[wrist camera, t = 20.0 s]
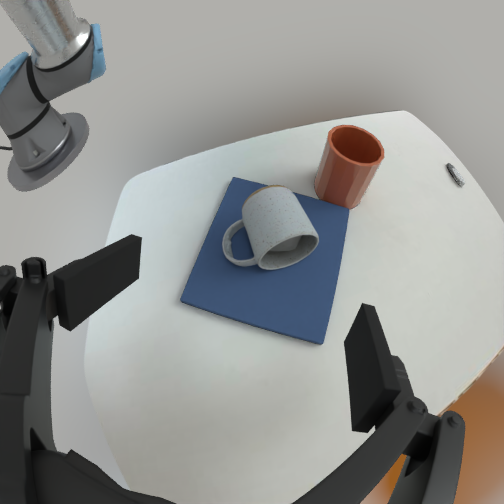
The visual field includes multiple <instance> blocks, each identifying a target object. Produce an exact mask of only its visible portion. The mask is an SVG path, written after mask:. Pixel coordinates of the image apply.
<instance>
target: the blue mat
mask: <svg viewBox="0 0 504 504" xmlns="http://www.w3.org/2000/svg"><path fill="white" fill-rule="evenodd" d="M266 186H268V185H264V184H260V183H256V182H252V181H248V180H244V179H240V178H235V177H233V179H232V181H231V183H230V185H229V187H228V189H227V192H226V194H225V196H224V198H223V200H222V203H221V205H220V207H219V209H218V211H217V214H216V216H215V218H214V220H213V223H212V225H211V227H210V230H209V232H208V234H207V236H206V239H205V241H204V243H203V246H202V248H201V250H200V253H199V255H198V257H197V260H196V262H195V265H194V267H193V269H192V272H191V274H190V277H189V279H188V282H187V284H186V286H185V289H184V291H183V294H182V296H181V299H180V301H181V302H183V303H185V304H188V305H191V306H194V307H197V308H200V309H203V310H206V311H209V312H212V313H215V314H218V315H221V316H224V317H227V318H230V319H233V320H236V321H239V322H243V323H246V324H249V325H252V326H256V327H259V328H262V329H266V330H269V331H272V332H276V333H279V334H283V335H286V336H290V337H294V338H297V339H301V340H305V341H309V342H312V343H316V344H320V345H321V344H323V342H324V338H325V334H326V330H327V326H328V322H329V317H330V313H331V308H332V304H333V299H334V295H335V290H336V285H337V280H338V275H339V270H340V264H341V259H342V253H343V247H344V241H345V235H346V229H347V222H348V216H349V209H348V208H345V207H342V206H338V205H335V204H332V203H329V202H325V201H322V200H318V199H315V198H312V197H308V196H305V195H301V194H297V193H294V192H292V193H293V194H294V195H295V196H296V198H297V199H298V201H299V203H300V205H301V206H302V208H303V210H304V212H305V213H306V215H307V217H308V218H309V220H310V222H311V224H312V226H313V227H314V229H315V231H316V232H317V234H318V236H319V242H318V245H317V247H316V248H315V249H314V251H312V252H311V253H310V255H308V256H307V257H305V258H304V259H302V260H300V261H299V262H297V263H294V264H293V265H290V266H287V267H284V268H279V269H275V270H266V269H262V268H260V267H259V266H258V264H256V265H252V266H238V265H235V264H234V263H232V262H230V261H229V260H228V259H227V258H226V256H225V254H224V252H223V247H222V242H223V237H224V234H225V232H226V231H227V229H228V228H229V227H230V226H231V225H232V224H234V223H235V222H237V221H239V220H241V219H242V206H243V204H244V202H245V200H246V199H247V198H248V197H249V196H250V195H251V194H252V193H254V192H255V191H257V190H258V189H261V188H263V187H266ZM231 243H232V244H231V250H232V254H233V258H234V259H236V260H248V259H252V258H253V257H254V253H253V250H252V247H251V243H250V240H249V237H248V234H247V231H246V229H245V226H244V227H242V228H241V229H239V230H238V231H237V232H236V233H235V234H234V235H233V236H232V238H231Z"/></svg>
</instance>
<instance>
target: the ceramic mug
mask: <svg viewBox="0 0 504 504" xmlns="http://www.w3.org/2000/svg"><path fill="white" fill-rule="evenodd" d="M244 226H245V229H246V231H247V234H248V237H249V240H250V243H251V247H252V250H253V253H254V257H253V258H252V259H248V260H236V259H234V258H233V254H232V250H231V244H232V243H231V238H232V236H233V235H234V234H235V233H236V232H237V231H238V230H239V229H241V228H242V227H244ZM318 242H319V236H318V234H317V232H316V231H315V229H314V227H313V226H312V224H311V222H310V220H309V218H308V217H307V215H306V213H305V212H304V210H303V208H302V206H301V205H300V203H299V201H298V199H297V198H296V196H295V195H294V194H293V193H292V192H291V191H290V190H289V189H288V188H287V187H284V186H280V185H271V186H266V187H263V188H261V189H258V190H257V191H255V192H254V193H252V194H251V195H250V196H249V197H248V198H247V199H246V200H245V202H244V204H243V206H242V219H241V220H239V221H237V222H235V223H234V224H232V225H231V226H230V227H229V228H228V229H227V231H226V232H225V234H224V237H223V242H222V247H223V252H224V254H225V256H226V258H227V259H228V260H229V261H230V262H232V263H234V264H235V265H238V266H252V265H256V264H258V266H259V267H260V268H262V269H266V270H275V269H279V268H284V267H287V266H290V265H293V264H294V263H297V262H299V261H300V260H302V259H304V258H305V257H307V256H308V255H310V253H311V252H312V251H314V249H315V248H316V247H317V245H318Z"/></svg>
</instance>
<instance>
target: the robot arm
mask: <svg viewBox="0 0 504 504" xmlns="http://www.w3.org/2000/svg"><path fill="white" fill-rule="evenodd" d="M0 4H1V6H2V7H3V9H4V10H5V11H6V13H7V14H8V16H9V17H10V18H11V20H12V21H13V22H14V24H15V25H16V27H17V28H18V29H19V31H20V32H21V34H22V35H23V36H24V38H25V39H26V40H27V41H28V43H29V44H30V45H31V47H32V48H33V50H32V53H31V56H28V53H27V52H22V53H21V54H19V55H18V56H16V57H15V58H14V59H12V60H11V61H10V62H9V63H7V64H6V65H5V66H4V67H3V68H2V69H1V70H0V126H1V127H2V129H3V131H4V132H5V134H6V135H7V137H8V138H9V140H10V142H11V146H12V147H2V146H1V147H0V149H4V150H13V154H14V157H15V161H16V163H17V165H18V166H19V168H20V169H21V170H22V171H32V170H35V169H37V168H39V167H41V166H43V165H44V164H46V163H47V162H49V161H50V160H51V159H52V158H53V157H55V156H56V155H57V154H58V153H59V152H60V150H61V149H62V148H63V147H64V146H65V144H66V143H67V141H68V139H69V137H70V134H71V126H70V124H69V122H68V121H67V120H66V119H65V118H64V117H63V116H62V115H61V114H59V113H58V112H57V111H56V110H55V109H54V108H53V107H51V105H50V103H49V101H50V100H52V99H54V98H56V97H58V96H60V95H62V94H64V93H66V92H69V91H71V90H73V89H75V88H77V87H79V86H82V85H84V84H86V83H90V82H91V81H92V80H94V79H96V78H98V77H100V76H102V75H103V74H104V72H105V70H106V65H105V59H104V54H103V47H102V39H101V34H100V33H101V32H100V25H99V24H91V25H89V23H88V22H87V21H86V20H85V19H83V18H78V17H76V16H75V13H74V11H73V8H72V6H71V4H70V1H69V0H0ZM141 242H142V237H139V236H135V235H132V234H131V235H129V236H127V237H125V238H123V239H121V240H119V241H117V242H115V243H113V244H111V245H109V246H107V247H105V248H103V249H101V250H99V251H97V252H95V253H93V254H91V255H89V256H87V257H85V258H83V259H79V260H75V261H73V262H71V263H69V264H68V265H65V266H63V267H62V268H60V269H57V270H56V271H54V272H52V273H50V274H48V275H47V271H46V261H45V260H44V259H42V258H39V257H31V258H28V259H25V260H24V261H23V262H22V263H21V265H22V273H23V278H20V277H17V276H16V269H15V268H14V267H13V266H7V265H5V266H1V267H0V305H1V309H0V504H176V503H173V502H171V501H168V500H166V499H163V498H160V497H155V496H151V495H146V494H142V493H138V492H134V491H129V490H126V489H124V488H122V487H121V486H120V485H118V484H117V483H116V482H115V481H114V480H113V479H111V478H110V477H109V476H108V475H107V474H106V473H105V472H103V471H102V470H101V469H100V468H99V467H98V466H97V465H95V464H94V463H92V462H90V461H88V460H87V459H86V458H84V457H82V456H81V455H79V454H78V453H76V452H75V451H73V450H72V449H71V450H70V451H69V452H68V454H65V453H61V452H58V451H57V450H56V447H55V444H54V440H53V433H52V418H51V357H52V342H53V330H54V321H53V318H54V317H56V316H57V315H58V318H59V324H60V326H62V327H64V328H65V329H67V330H69V331H72V330H73V329H74V328H75V327H77V326H78V325H79V324H80V323H82V322H83V321H84V320H85V319H87V318H88V317H89V316H90V315H92V314H93V313H94V312H95V311H97V310H98V309H99V308H101V307H102V306H103V305H104V304H106V303H107V302H108V301H110V300H111V299H112V298H113V297H115V296H116V295H117V294H119V293H120V292H121V291H123V290H124V289H125V288H127V287H128V286H129V285H131V284H132V283H133V282H135V281H136V280H137V279H139V268H140V254H141ZM344 347H345V355H346V364H347V374H348V384H349V395H350V408H351V423H352V431H356V432H364V433H368V432H369V431H370V430H371V429H372V427H373V426H374V425H375V430H376V431H375V432H374V433H373V434H372V435H371V436H370V437H369V438H368V439H367V440H366V441H365V442H364V443H363V444H362V445H361V446H360V447H359V448H358V449H357V450H356V451H355V452H354V453H353V454H352V455H351V456H350V457H349V458H348V459H346V460H345V461H344V462H343V463H342V464H341V465H340V466H339V467H338V468H336V469H335V470H334V471H333V472H332V473H331V474H330V475H328V476H327V477H326V478H325V479H324V480H322V481H321V482H320V483H319V484H317V485H316V486H315V487H314V488H312V489H311V490H310V491H308V492H307V493H306V494H304V495H303V496H302V497H300V498H299V499H298V500H296V501H295V502H293V503H292V504H360V503H361V501H362V500H363V499H364V498H365V497H366V496H367V495H368V494H369V493H370V492H371V491H372V490H373V488H374V487H375V486H376V485H377V484H378V483H379V482H380V480H381V479H382V478H383V477H384V476H385V474H386V473H387V472H388V471H389V469H390V468H391V467H392V466H393V464H394V463H395V462H396V460H397V459H398V458H399V456H400V455H401V454H404V455H407V457H406V460H405V462H404V465H403V468H402V470H401V473H400V476H399V478H398V481H397V483H396V486H395V488H394V490H393V493H392V495H391V497H390V500H389V502H388V504H453V503H454V499H455V495H456V489H457V485H458V479H459V474H460V468H461V462H462V454H463V446H464V435H465V422H464V420H463V418H462V417H461V416H460V415H459V414H458V413H456V412H454V411H446V412H445V413H444V414H443V415H442V416H441V417H438V416H435V415H432V414H430V413H428V409H427V406H426V405H425V403H424V402H423V401H422V400H420V399H419V398H417V397H414V393H413V390H412V387H411V384H410V381H409V379H408V375H407V373H406V369H405V366H404V364H403V362H402V361H401V360H400V358H399V357H398V356H393V355H391V353H390V350H389V347H388V344H387V341H386V338H385V335H384V332H383V329H382V326H381V323H380V321H379V318H378V315H377V312H376V310H375V307H374V306H371V305H368V304H364V303H362V305H361V307H360V309H359V311H358V314H357V316H356V318H355V320H354V322H353V324H352V327H351V329H350V331H349V333H348V335H347V337H346V339H345V341H344Z"/></svg>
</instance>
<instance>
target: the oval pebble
mask: <svg viewBox="0 0 504 504" xmlns="http://www.w3.org/2000/svg"><path fill="white" fill-rule="evenodd" d="M447 167H448V169H449V171H450V172H451V174H452V175H453V177H454V179H455V180H456V181H457V182H458V183H459V185H460V186H463V185H464V184H465V181H464V179H463V178H462V176H461V175H460V173H459V172H458V171H457V170H456V169H455V168H454V167H453V166H452V165H451V164H450V163H448V164H447Z"/></svg>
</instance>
